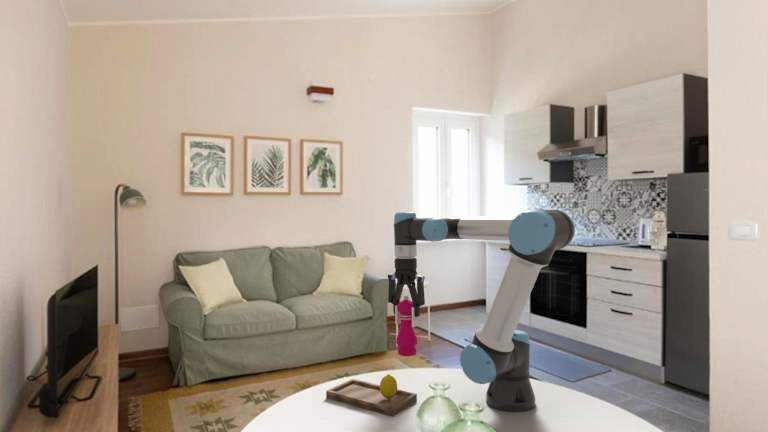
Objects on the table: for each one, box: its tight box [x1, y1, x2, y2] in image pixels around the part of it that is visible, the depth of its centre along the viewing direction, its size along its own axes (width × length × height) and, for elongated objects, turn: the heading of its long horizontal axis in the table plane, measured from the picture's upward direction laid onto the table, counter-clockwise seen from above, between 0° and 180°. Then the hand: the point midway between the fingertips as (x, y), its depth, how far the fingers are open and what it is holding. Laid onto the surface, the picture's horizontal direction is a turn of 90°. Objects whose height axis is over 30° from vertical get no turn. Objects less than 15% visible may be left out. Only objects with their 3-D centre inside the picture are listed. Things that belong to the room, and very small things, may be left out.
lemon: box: [379, 374, 398, 400], centre depth 161 cm, size 6×6×8 cm
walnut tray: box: [325, 378, 418, 417], centre depth 165 cm, size 26×14×2 cm, turn 55°
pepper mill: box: [395, 294, 418, 357], centre depth 174 cm, size 7×7×20 cm
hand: (406, 324), depth 174 cm, fingers closed on pepper mill, 6 cm apart
